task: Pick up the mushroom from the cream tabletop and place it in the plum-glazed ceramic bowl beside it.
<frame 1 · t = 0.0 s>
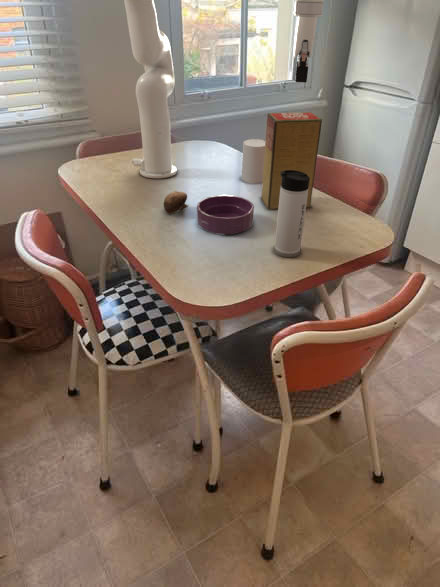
hand: (300, 79, 130), 31 cm above the table, tool pointing down, fingers open, 9 cm apart
white cylinder: (253, 179, 149), on the table
food packaging: (285, 203, 133), on the table
bowl: (225, 223, 121), on the table
mushroom: (175, 212, 127), on the table
travel mug: (286, 252, 109), on the table
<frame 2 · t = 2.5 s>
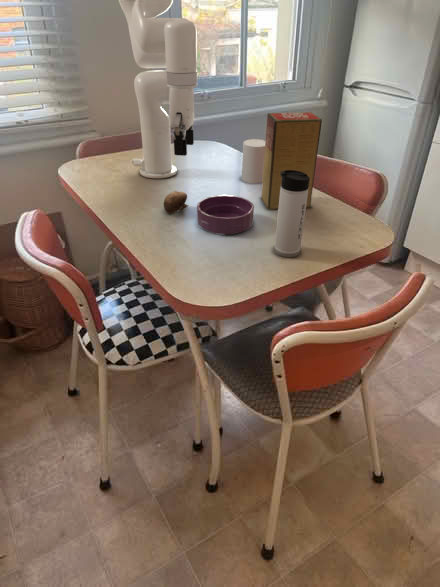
hand: (184, 149, 119), 17 cm above the table, tool pointing down, fingers open, 9 cm apart
nothing on the table moved.
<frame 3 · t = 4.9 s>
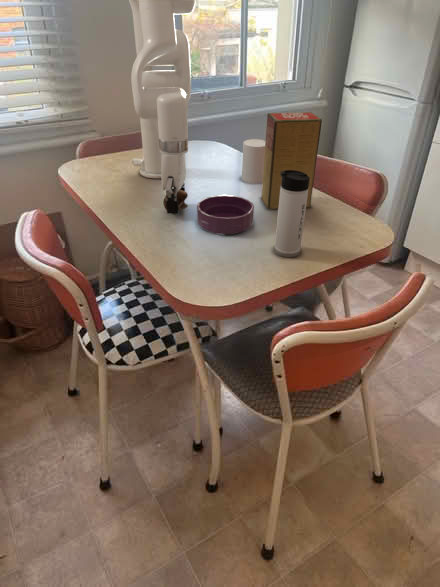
hand: (176, 206, 126), 1 cm above the table, tool pointing down, fingers closed on mushroom, 8 cm apart
mushroom: (174, 210, 126), on the table, touching gripper
everything else where it was.
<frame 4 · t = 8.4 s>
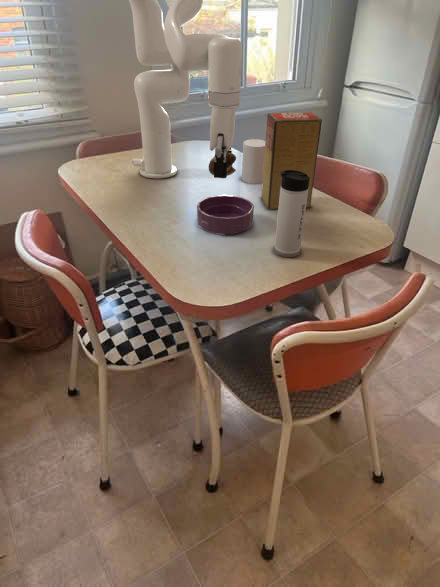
hand: (222, 171, 113), 14 cm above the table, tool pointing down, fingers closed on mushroom, 8 cm apart
mushroom: (221, 176, 114), point 13 cm above the table, touching gripper
everything else where it was.
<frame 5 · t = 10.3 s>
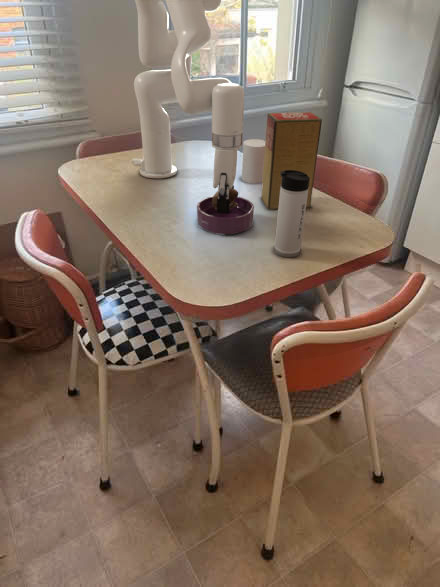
hand: (225, 205, 118), 5 cm above the table, tool pointing down, fingers closed on mushroom, 8 cm apart
mushroom: (224, 210, 118), point 4 cm above the table, touching gripper
everything else where it was.
when the fingers open (2 cm above the table, at t = 11.9 s): mushroom stays where it is, resting on bowl.
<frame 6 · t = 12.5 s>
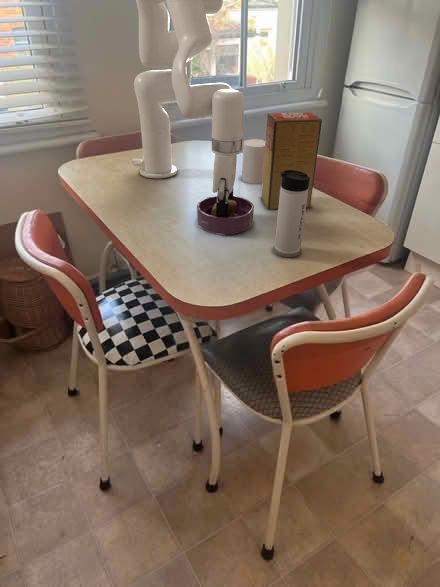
hand: (224, 208, 119), 4 cm above the table, tool pointing down, fingers open, 9 cm apart
mushroom: (223, 221, 120), point 1 cm above the table, touching bowl, gripper
everything else where it was.
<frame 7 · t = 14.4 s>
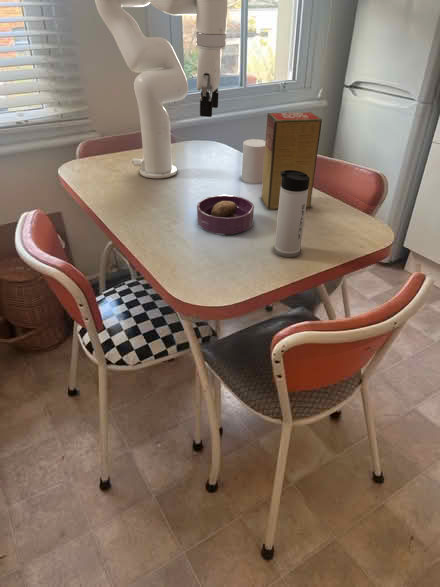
hand: (209, 111, 122), 25 cm above the table, tool pointing down, fingers open, 9 cm apart
mushroom: (223, 222, 121), resting on bowl
everything else where it was.
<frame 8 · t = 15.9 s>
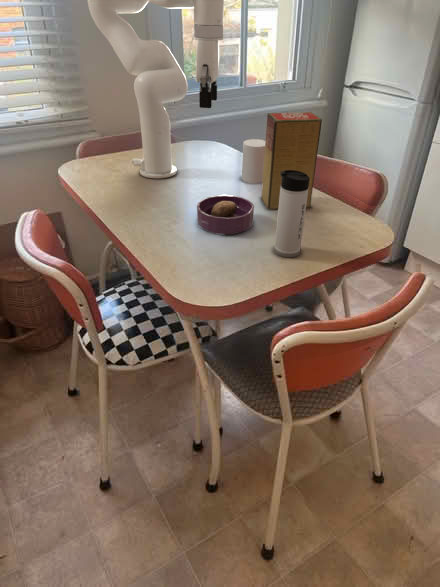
hand: (208, 103, 123), 26 cm above the table, tool pointing down, fingers open, 9 cm apart
nothing on the table moved.
at the end: mushroom inside the target area in the bowl (0.7 cm from its centre), point 0.4 cm above the bowl's base; the gripper is holding nothing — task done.
